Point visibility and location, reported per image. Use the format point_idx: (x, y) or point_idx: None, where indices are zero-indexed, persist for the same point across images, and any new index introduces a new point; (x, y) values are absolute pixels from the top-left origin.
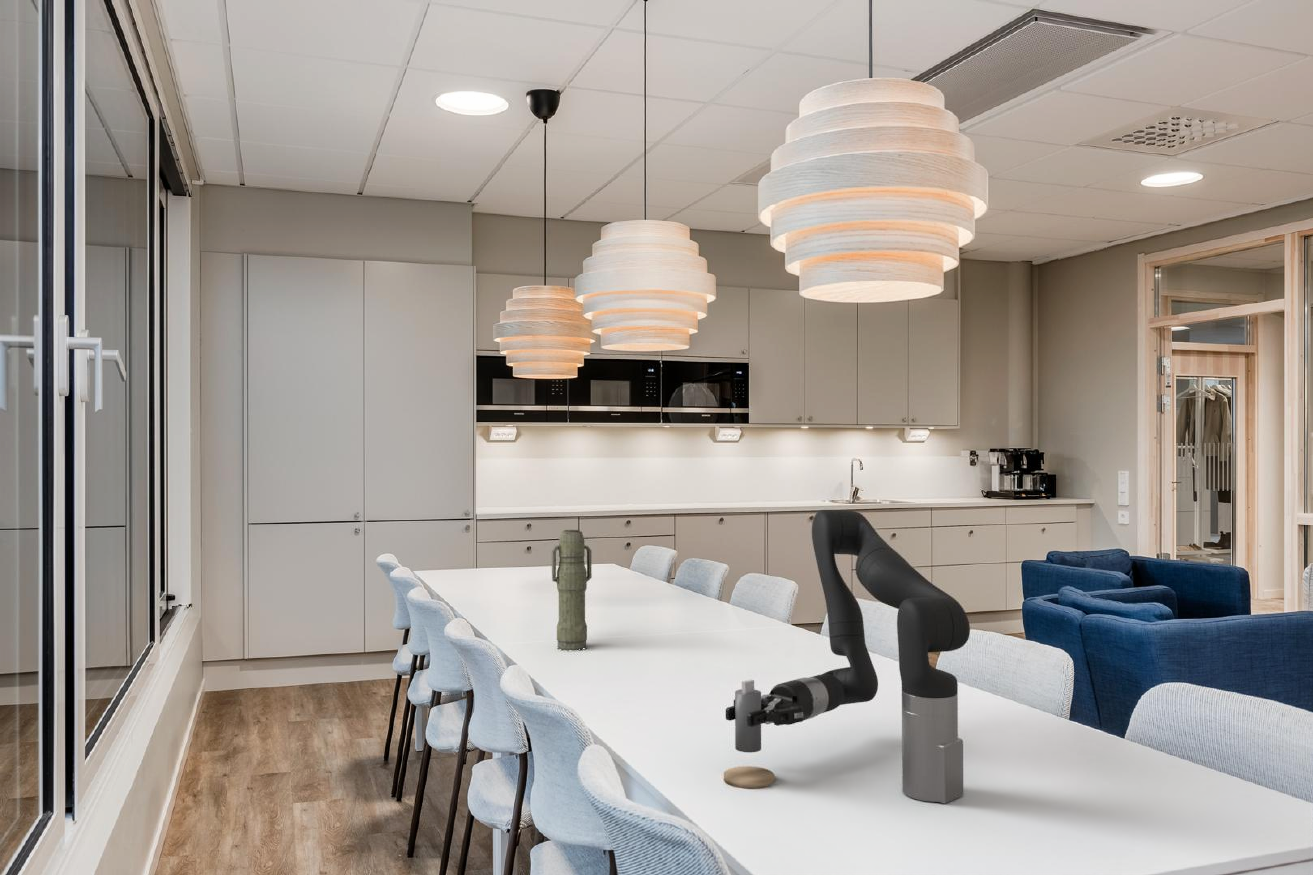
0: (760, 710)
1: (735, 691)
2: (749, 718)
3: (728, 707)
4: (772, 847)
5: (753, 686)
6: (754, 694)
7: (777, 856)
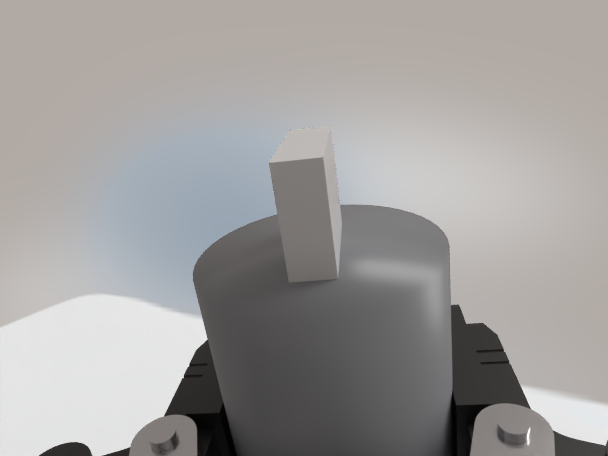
0: (216, 400)
1: (416, 216)
2: None
3: (457, 312)
4: (60, 338)
5: (283, 227)
6: (227, 250)
7: (43, 325)
